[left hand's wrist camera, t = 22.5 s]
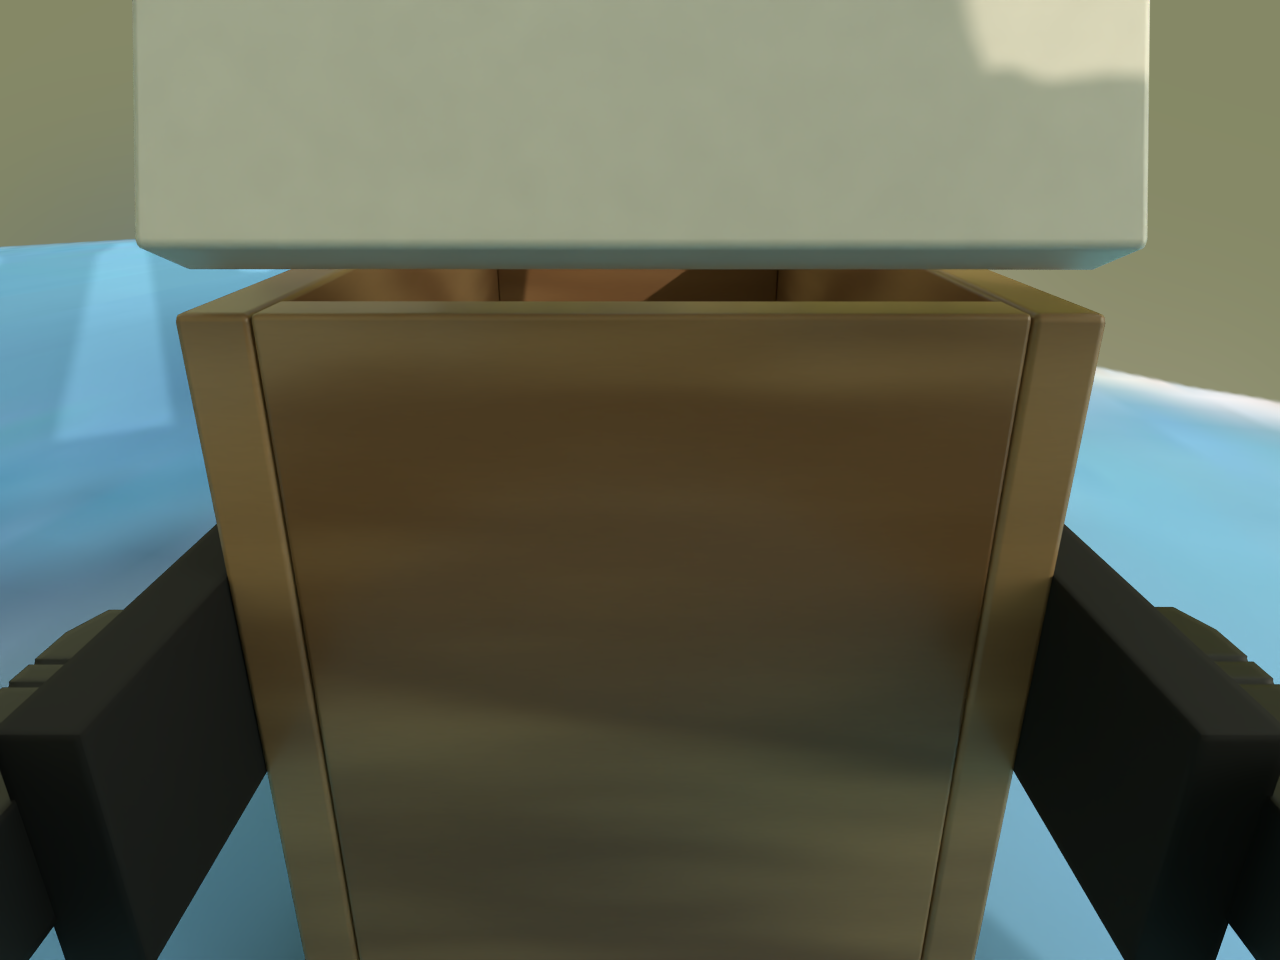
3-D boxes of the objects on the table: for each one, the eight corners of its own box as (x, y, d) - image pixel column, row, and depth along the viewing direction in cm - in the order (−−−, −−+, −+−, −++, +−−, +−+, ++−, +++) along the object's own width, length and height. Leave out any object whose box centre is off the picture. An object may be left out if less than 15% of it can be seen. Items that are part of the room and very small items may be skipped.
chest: (493, 540, 27) (469, 196, 23) (781, 540, 27) (806, 197, 24) (318, 1043, 12) (169, 313, 8) (961, 1041, 12) (1113, 314, 8)
